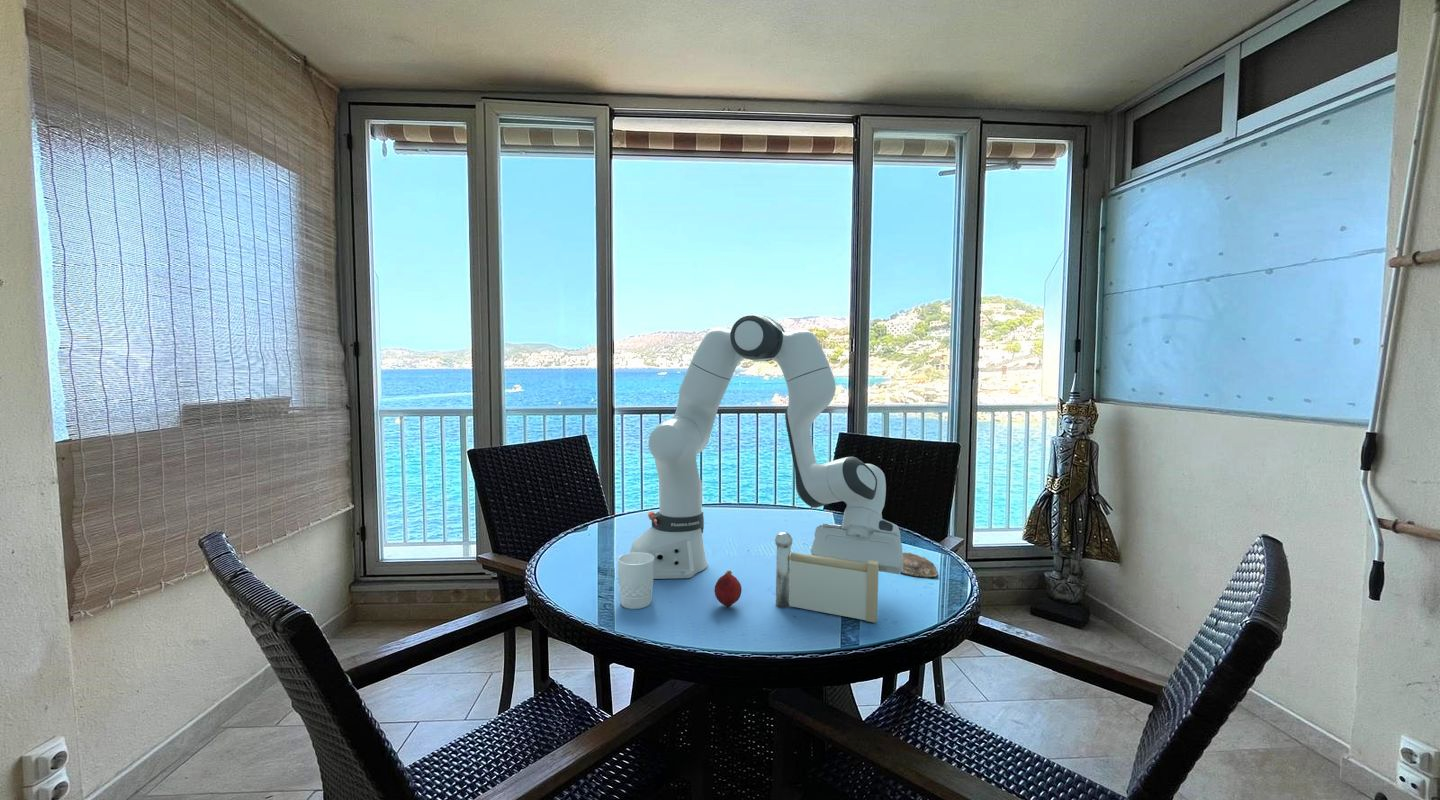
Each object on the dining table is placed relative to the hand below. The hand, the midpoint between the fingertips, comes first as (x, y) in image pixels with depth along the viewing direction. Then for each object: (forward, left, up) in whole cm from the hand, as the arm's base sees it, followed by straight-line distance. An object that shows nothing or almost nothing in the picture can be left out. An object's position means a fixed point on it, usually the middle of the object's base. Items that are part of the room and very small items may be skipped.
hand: (851, 584), depth 119 cm
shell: (+28, +17, -6) cm, 33 cm away
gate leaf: (-6, -2, -5) cm, 8 cm away
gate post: (-14, +5, -5) cm, 16 cm away
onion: (-26, +7, -5) cm, 28 cm away
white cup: (-45, +14, -5) cm, 47 cm away
